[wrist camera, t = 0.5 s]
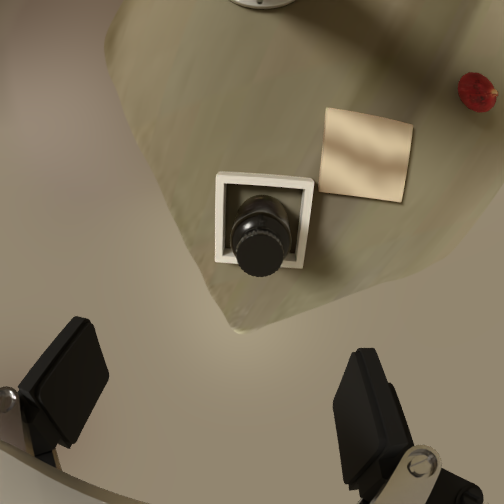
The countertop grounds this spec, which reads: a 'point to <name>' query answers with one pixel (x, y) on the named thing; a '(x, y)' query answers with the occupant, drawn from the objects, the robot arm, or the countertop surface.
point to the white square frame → (265, 180)
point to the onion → (477, 92)
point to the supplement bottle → (261, 235)
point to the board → (364, 155)
